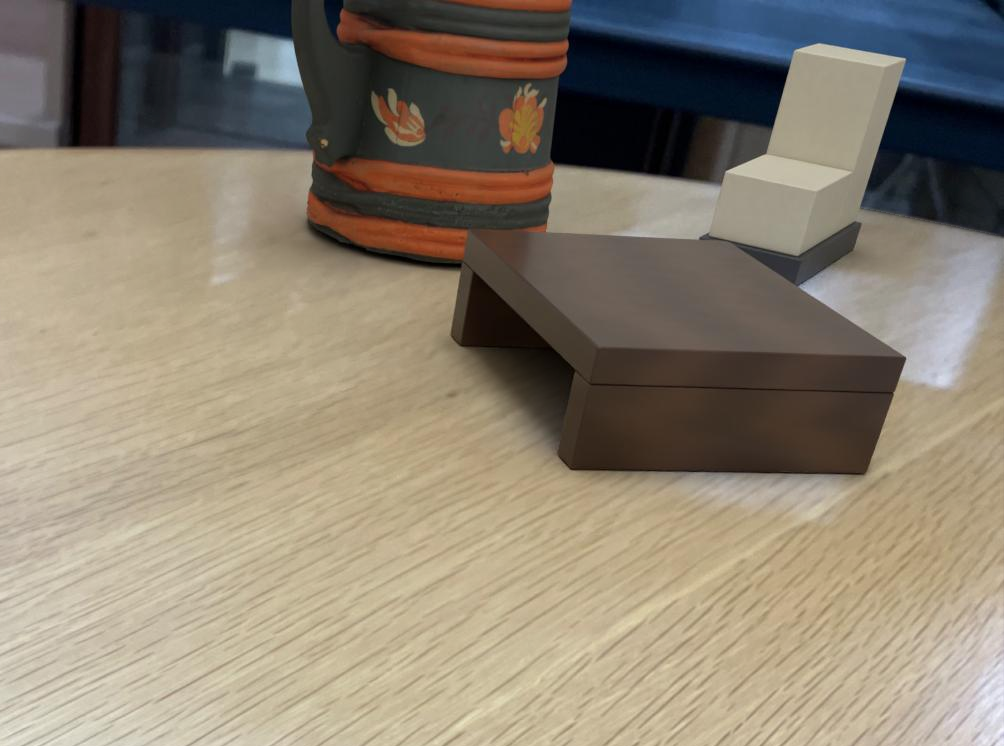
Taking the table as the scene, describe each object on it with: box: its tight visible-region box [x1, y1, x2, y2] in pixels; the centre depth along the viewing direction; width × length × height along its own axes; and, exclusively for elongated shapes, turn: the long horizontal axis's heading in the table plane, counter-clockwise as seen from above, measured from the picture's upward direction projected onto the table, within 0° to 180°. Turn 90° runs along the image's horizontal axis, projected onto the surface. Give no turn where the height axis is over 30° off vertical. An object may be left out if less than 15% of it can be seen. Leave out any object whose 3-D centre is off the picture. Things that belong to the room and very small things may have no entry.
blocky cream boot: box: [698, 42, 907, 287], centre depth 93 cm, size 14×6×11 cm, turn 148°
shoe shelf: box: [450, 228, 907, 474], centre depth 71 cm, size 14×18×5 cm
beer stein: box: [290, 0, 573, 264], centre depth 85 cm, size 19×15×20 cm
